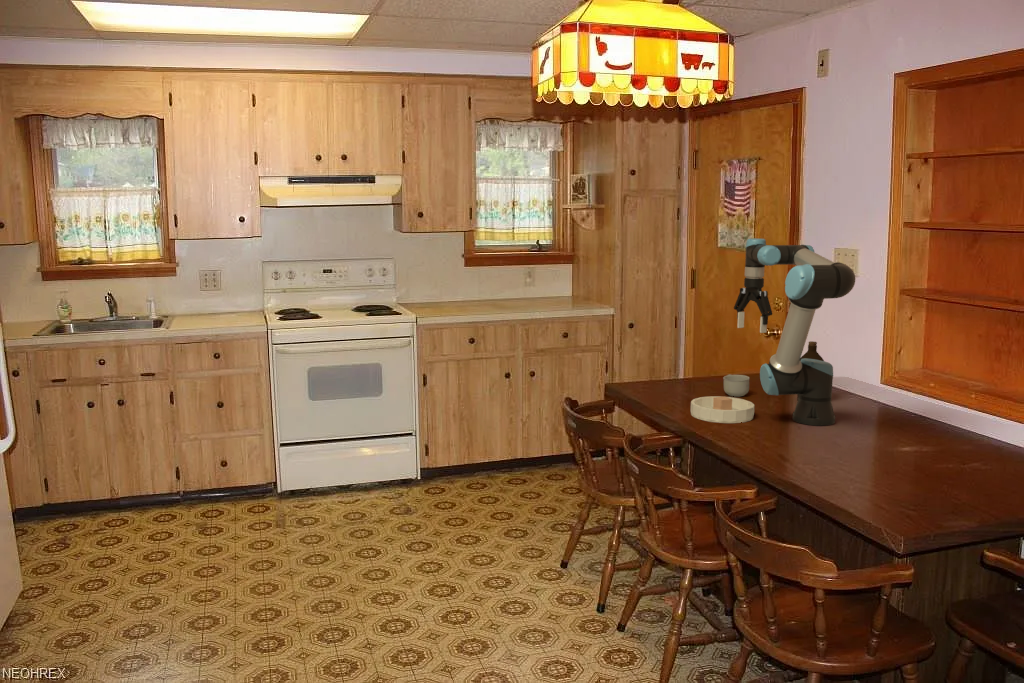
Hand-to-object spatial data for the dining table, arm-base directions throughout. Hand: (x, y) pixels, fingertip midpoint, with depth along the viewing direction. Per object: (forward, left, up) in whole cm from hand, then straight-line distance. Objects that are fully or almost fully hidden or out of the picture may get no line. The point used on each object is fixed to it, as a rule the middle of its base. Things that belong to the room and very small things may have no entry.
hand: (751, 330), depth 351 cm
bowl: (-12, +22, -30) cm, 39 cm away
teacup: (+16, -5, -31) cm, 35 cm away
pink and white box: (-13, +22, -29) cm, 39 cm away
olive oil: (-7, -25, -31) cm, 40 cm away
